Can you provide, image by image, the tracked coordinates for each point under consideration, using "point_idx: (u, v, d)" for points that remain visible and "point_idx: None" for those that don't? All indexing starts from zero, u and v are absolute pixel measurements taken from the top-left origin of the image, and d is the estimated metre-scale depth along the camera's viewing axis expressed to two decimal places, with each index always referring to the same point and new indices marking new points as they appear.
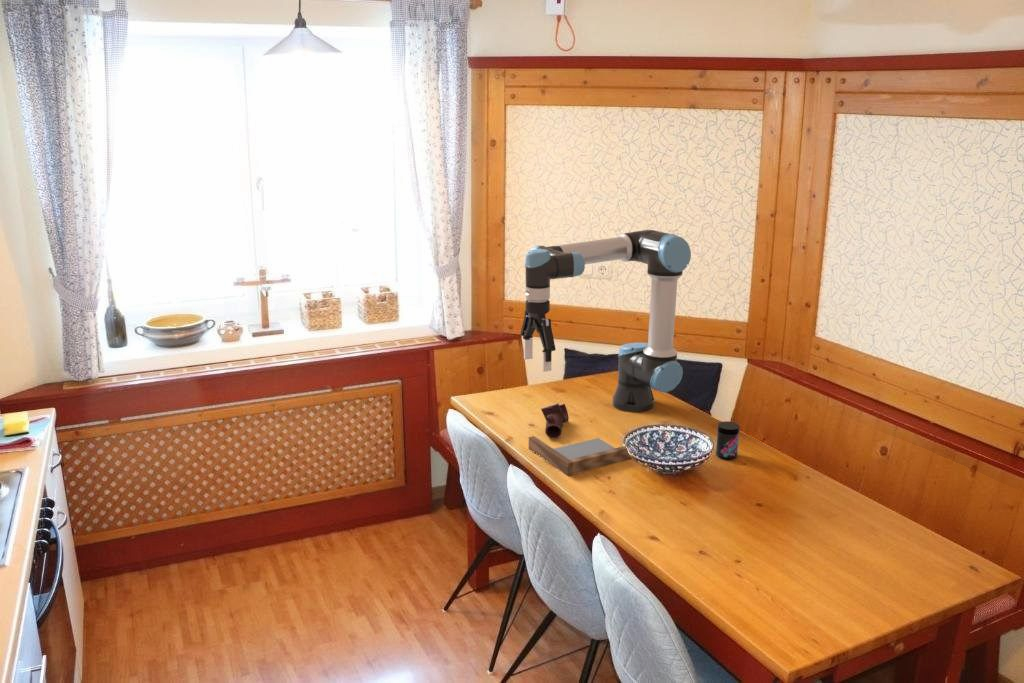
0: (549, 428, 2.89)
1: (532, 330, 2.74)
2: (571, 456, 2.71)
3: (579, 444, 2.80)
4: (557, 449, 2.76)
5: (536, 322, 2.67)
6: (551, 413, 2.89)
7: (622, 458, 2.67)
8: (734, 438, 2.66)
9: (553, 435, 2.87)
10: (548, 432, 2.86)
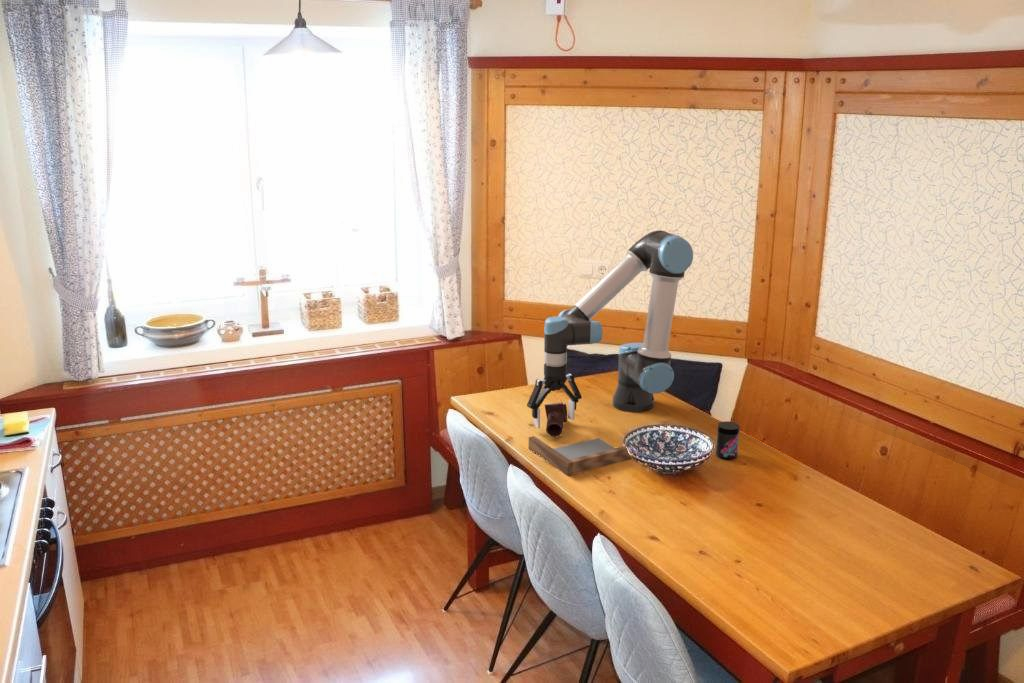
0: (549, 425, 2.88)
1: (566, 392, 2.91)
2: (571, 456, 2.71)
3: (579, 444, 2.80)
4: (557, 449, 2.76)
5: None
6: (554, 411, 2.89)
7: (622, 458, 2.67)
8: (734, 438, 2.66)
9: (552, 433, 2.86)
10: (548, 429, 2.86)
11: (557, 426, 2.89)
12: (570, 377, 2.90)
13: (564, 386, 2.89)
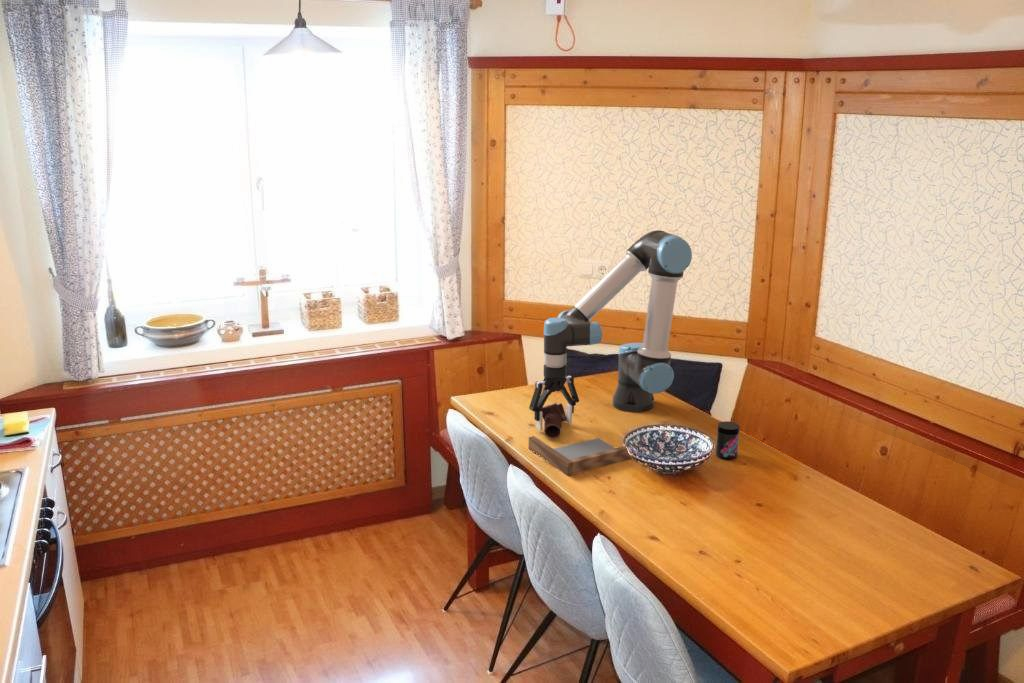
0: (547, 428, 2.88)
1: (564, 394, 2.91)
2: (571, 456, 2.71)
3: (579, 444, 2.80)
4: (557, 449, 2.76)
5: None
6: (549, 413, 2.89)
7: (622, 458, 2.67)
8: (734, 438, 2.66)
9: (551, 435, 2.86)
10: (547, 432, 2.86)
11: (556, 427, 2.89)
12: (570, 379, 2.90)
13: (563, 388, 2.89)
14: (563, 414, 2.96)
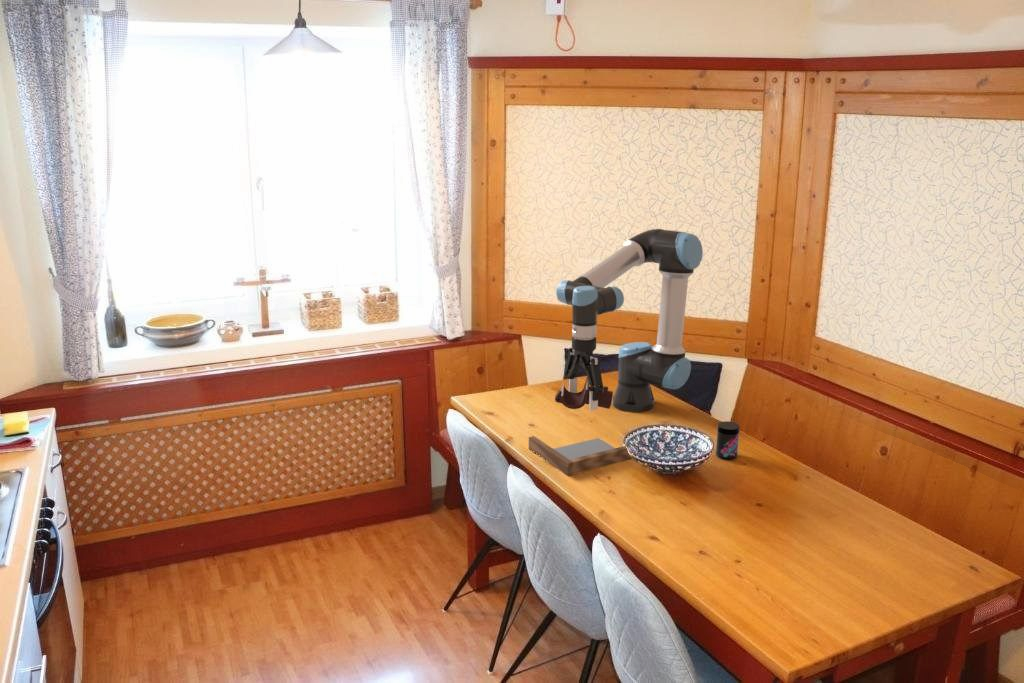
0: None
1: (577, 368, 2.71)
2: (571, 456, 2.71)
3: (579, 444, 2.80)
4: (557, 449, 2.76)
5: (583, 360, 2.64)
6: (590, 389, 2.68)
7: (622, 458, 2.67)
8: (734, 438, 2.66)
9: None
10: None
11: None
12: None
13: None
14: (569, 392, 2.74)
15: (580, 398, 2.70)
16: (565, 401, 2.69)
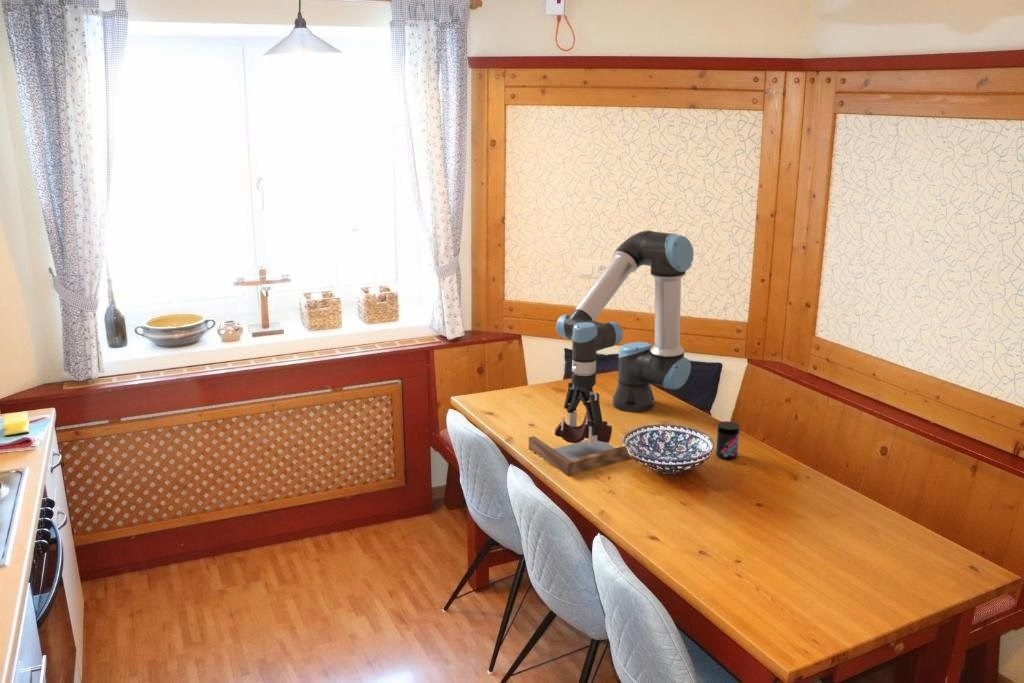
0: None
1: (577, 402, 2.74)
2: (571, 456, 2.71)
3: (579, 444, 2.80)
4: (557, 449, 2.76)
5: (583, 395, 2.67)
6: (590, 423, 2.71)
7: (622, 458, 2.67)
8: (734, 438, 2.66)
9: None
10: None
11: None
12: None
13: None
14: (569, 426, 2.77)
15: (580, 432, 2.73)
16: (565, 435, 2.72)
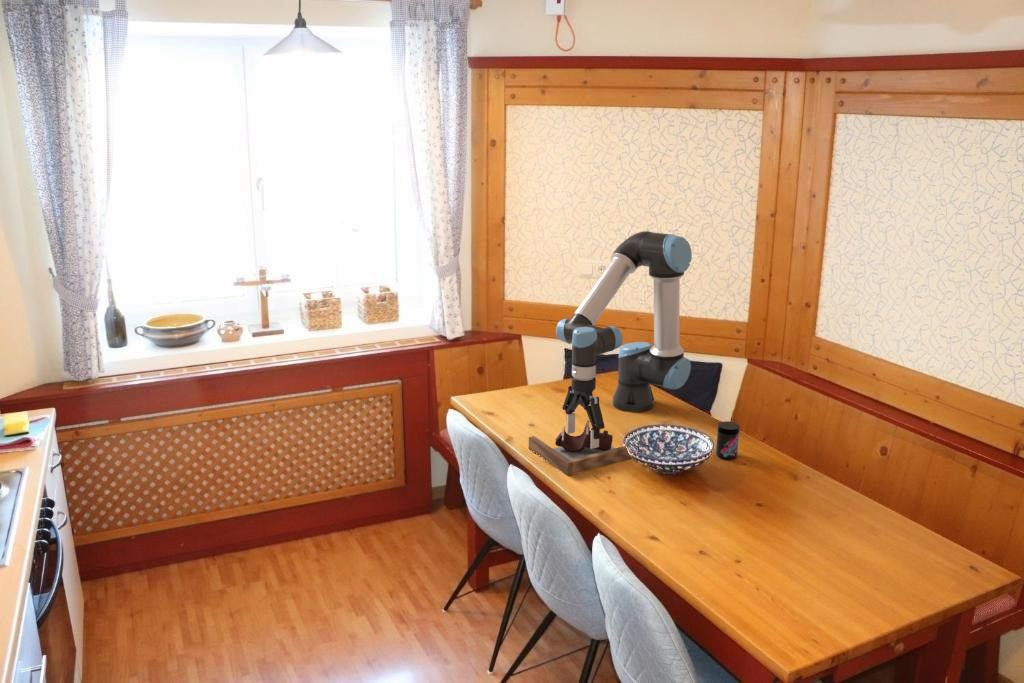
0: None
1: (576, 405, 2.75)
2: (571, 456, 2.71)
3: None
4: (557, 449, 2.76)
5: (583, 399, 2.68)
6: (590, 433, 2.72)
7: (622, 458, 2.67)
8: (734, 438, 2.66)
9: None
10: None
11: None
12: None
13: None
14: (569, 435, 2.77)
15: (580, 442, 2.74)
16: (565, 445, 2.73)
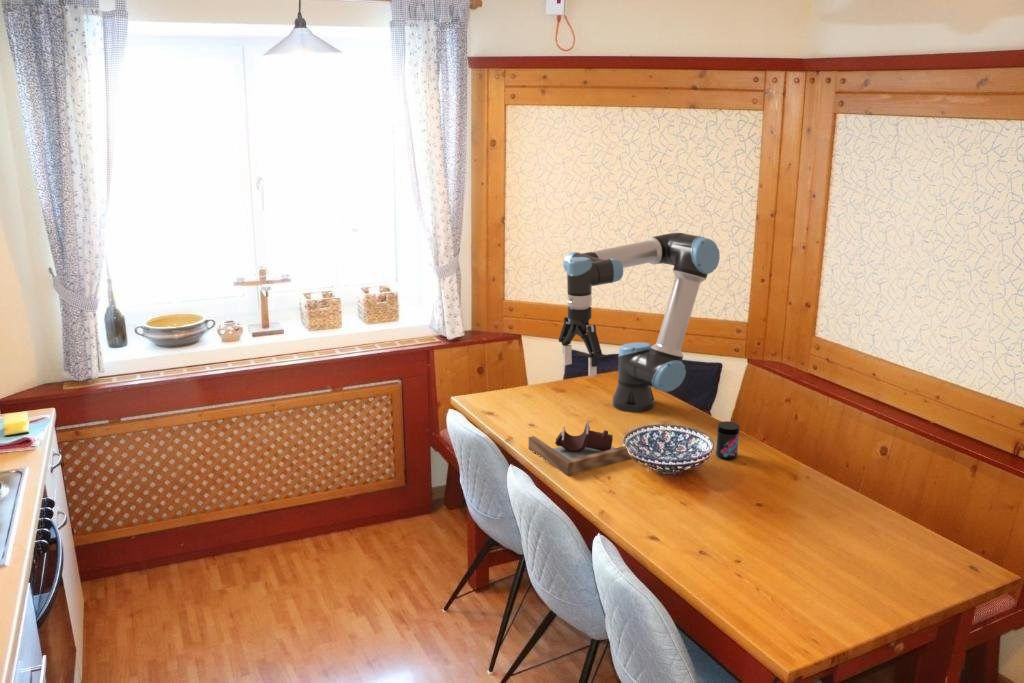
0: None
1: (572, 336, 2.80)
2: (571, 456, 2.71)
3: None
4: (557, 449, 2.76)
5: (580, 328, 2.72)
6: (590, 433, 2.72)
7: (622, 458, 2.67)
8: (734, 438, 2.66)
9: None
10: None
11: None
12: None
13: None
14: (569, 435, 2.77)
15: (580, 441, 2.74)
16: (566, 445, 2.73)
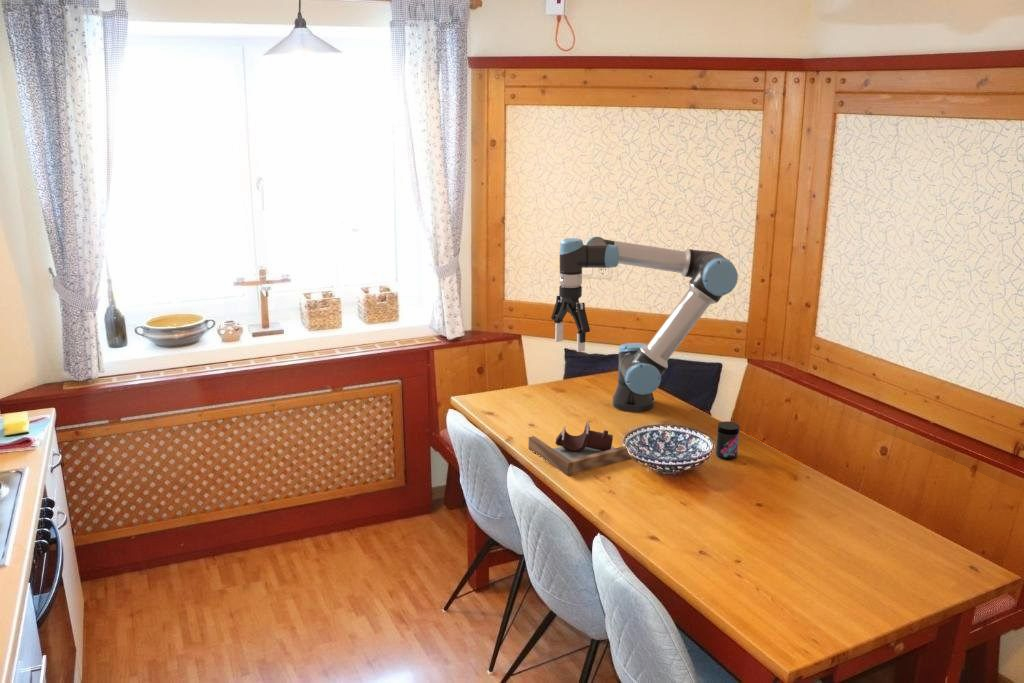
0: None
1: (563, 314, 2.95)
2: (571, 456, 2.71)
3: None
4: (557, 449, 2.76)
5: (570, 306, 2.87)
6: (591, 433, 2.72)
7: (622, 458, 2.67)
8: (734, 438, 2.66)
9: None
10: None
11: None
12: None
13: None
14: (570, 435, 2.77)
15: (580, 441, 2.74)
16: (566, 444, 2.73)
